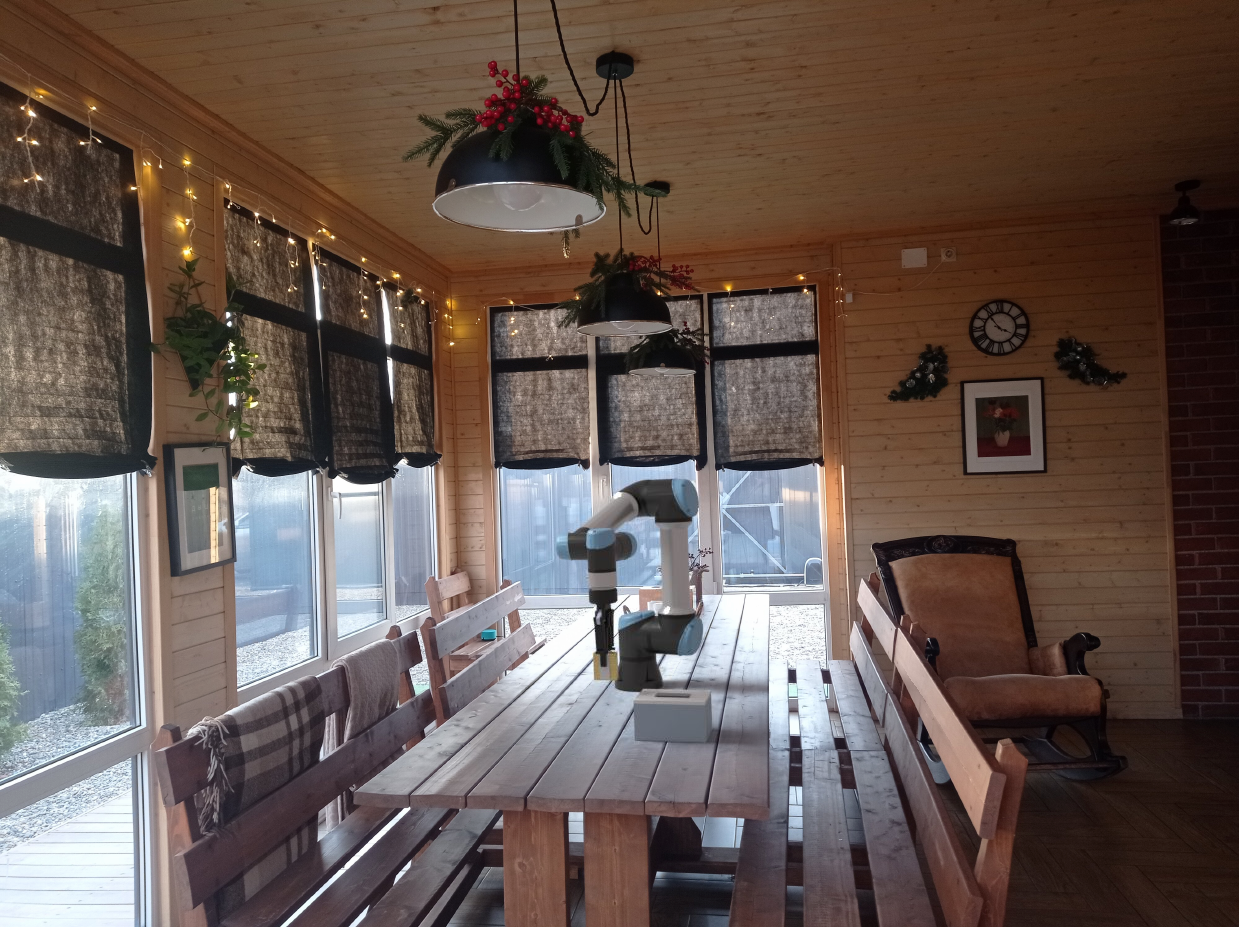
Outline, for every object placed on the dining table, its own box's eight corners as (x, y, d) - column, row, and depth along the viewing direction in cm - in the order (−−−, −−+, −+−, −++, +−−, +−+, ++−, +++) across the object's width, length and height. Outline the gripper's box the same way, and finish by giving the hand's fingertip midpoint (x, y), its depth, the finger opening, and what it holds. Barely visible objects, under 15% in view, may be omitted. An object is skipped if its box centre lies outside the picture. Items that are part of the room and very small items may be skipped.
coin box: (644, 726, 242) (643, 688, 242) (712, 729, 238) (711, 690, 238) (634, 740, 230) (633, 700, 230) (706, 742, 226) (704, 702, 226)
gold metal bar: (596, 677, 242) (595, 651, 242) (618, 678, 241) (617, 651, 241) (594, 680, 240) (593, 653, 240) (616, 680, 238) (615, 653, 238)
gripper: (596, 583, 249) (599, 670, 249) (581, 592, 233) (584, 684, 234) (623, 583, 247) (626, 670, 247) (609, 592, 232) (613, 684, 232)
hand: (606, 677), depth 240 cm, fingers closed on gold metal bar, 2 cm apart
